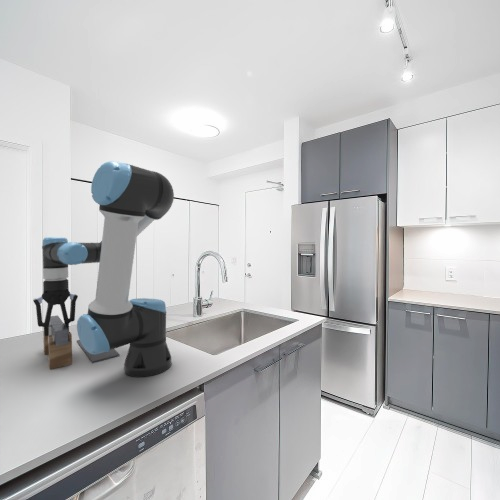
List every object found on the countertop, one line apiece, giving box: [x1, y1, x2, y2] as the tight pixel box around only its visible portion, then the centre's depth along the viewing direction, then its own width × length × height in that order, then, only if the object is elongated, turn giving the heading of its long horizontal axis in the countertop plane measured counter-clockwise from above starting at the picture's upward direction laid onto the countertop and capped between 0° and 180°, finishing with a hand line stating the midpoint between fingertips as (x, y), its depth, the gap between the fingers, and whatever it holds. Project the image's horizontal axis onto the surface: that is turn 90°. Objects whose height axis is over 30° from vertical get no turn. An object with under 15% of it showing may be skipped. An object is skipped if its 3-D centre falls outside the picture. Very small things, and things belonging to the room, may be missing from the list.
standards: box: [43, 330, 73, 370], centre depth 99 cm, size 20×6×10 cm, turn 42°
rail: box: [49, 314, 68, 346], centre depth 99 cm, size 24×4×5 cm, turn 42°
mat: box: [76, 339, 120, 364], centre depth 108 cm, size 28×9×1 cm, turn 42°
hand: (57, 342), depth 99 cm, fingers closed on rail, 3 cm apart
